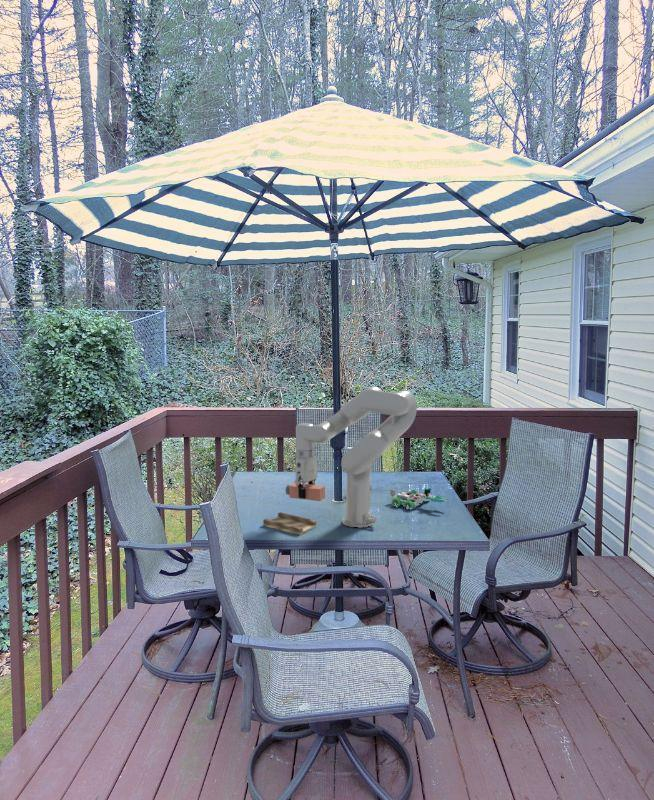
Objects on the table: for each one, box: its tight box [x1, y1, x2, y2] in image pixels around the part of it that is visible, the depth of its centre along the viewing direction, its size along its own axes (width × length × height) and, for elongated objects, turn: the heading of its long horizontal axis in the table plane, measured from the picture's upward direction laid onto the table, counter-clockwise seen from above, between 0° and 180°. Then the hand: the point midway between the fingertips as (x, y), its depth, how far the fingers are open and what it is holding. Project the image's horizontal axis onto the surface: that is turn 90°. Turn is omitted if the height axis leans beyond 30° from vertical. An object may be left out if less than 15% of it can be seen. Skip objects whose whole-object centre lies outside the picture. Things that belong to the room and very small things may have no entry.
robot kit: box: [389, 486, 448, 509], centre depth 265 cm, size 19×25×9 cm
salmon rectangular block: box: [285, 482, 326, 502], centre depth 248 cm, size 16×5×5 cm, turn 66°
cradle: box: [262, 512, 317, 536], centre depth 237 cm, size 18×11×2 cm, turn 57°
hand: (306, 495), depth 247 cm, fingers closed on salmon rectangular block, 5 cm apart
